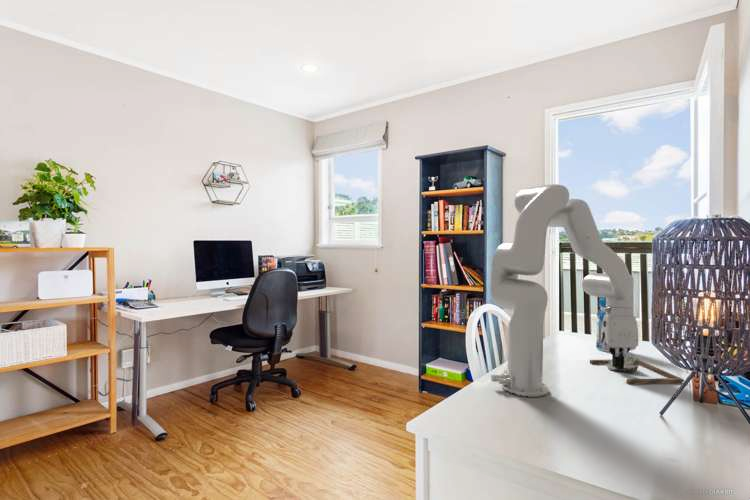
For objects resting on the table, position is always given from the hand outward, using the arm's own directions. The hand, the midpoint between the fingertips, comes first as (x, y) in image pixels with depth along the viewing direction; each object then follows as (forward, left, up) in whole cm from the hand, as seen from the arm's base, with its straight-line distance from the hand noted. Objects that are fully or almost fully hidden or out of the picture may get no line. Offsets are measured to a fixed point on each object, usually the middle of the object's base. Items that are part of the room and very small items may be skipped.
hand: (618, 367), depth 132 cm
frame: (+5, 0, -2) cm, 5 cm away
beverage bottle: (+14, +26, -2) cm, 29 cm away
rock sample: (+3, +3, -2) cm, 5 cm away
